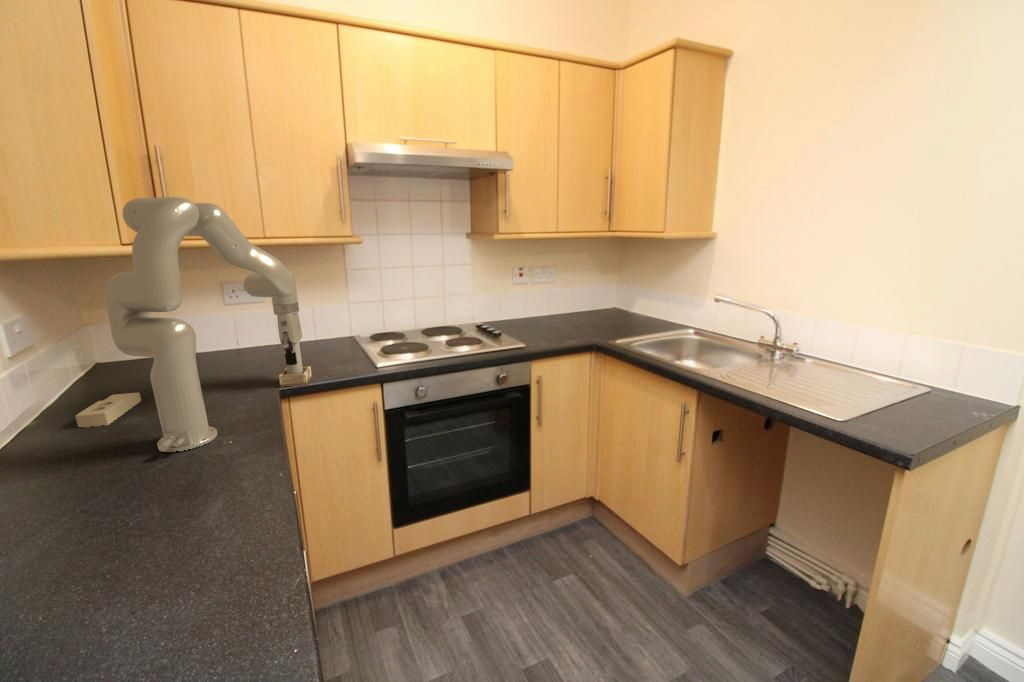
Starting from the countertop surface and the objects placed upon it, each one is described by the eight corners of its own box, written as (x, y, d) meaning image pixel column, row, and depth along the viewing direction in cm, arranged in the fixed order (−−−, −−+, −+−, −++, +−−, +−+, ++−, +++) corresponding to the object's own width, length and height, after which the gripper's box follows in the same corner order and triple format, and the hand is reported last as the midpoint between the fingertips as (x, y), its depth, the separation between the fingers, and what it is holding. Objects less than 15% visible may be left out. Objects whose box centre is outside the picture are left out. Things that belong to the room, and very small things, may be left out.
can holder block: (307, 385, 159) (305, 373, 158) (280, 387, 158) (278, 375, 157) (312, 377, 167) (310, 366, 166) (286, 379, 166) (285, 368, 165)
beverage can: (284, 375, 160) (279, 340, 157) (295, 370, 165) (290, 337, 162) (295, 376, 159) (290, 341, 156) (306, 372, 163) (301, 338, 160)
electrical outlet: (138, 389, 148) (105, 412, 131) (141, 401, 149) (108, 426, 132) (111, 391, 146) (74, 415, 129) (114, 404, 147) (78, 429, 130)
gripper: (292, 313, 148) (300, 369, 153) (304, 302, 165) (310, 353, 169) (266, 314, 147) (274, 370, 152) (280, 304, 163) (288, 355, 168)
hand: (293, 361), depth 161 cm, fingers closed on beverage can, 4 cm apart
